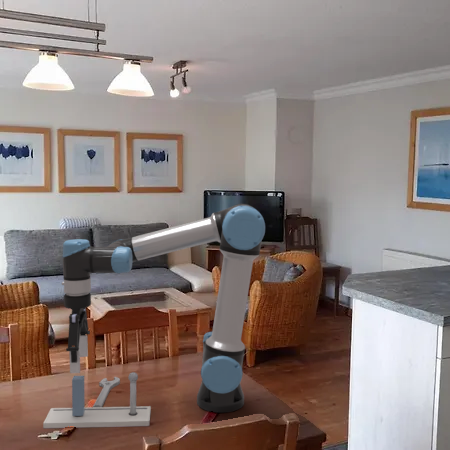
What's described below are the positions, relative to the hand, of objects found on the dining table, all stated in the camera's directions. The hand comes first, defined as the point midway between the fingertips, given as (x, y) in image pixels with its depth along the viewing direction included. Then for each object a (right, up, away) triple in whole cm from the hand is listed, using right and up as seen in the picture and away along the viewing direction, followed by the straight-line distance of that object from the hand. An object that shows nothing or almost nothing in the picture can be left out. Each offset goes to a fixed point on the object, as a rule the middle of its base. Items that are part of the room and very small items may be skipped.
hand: (79, 364), depth 162 cm
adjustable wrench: (+2, -16, +20) cm, 26 cm away
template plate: (+5, -17, +2) cm, 18 cm away
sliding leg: (-1, -15, +1) cm, 15 cm away
